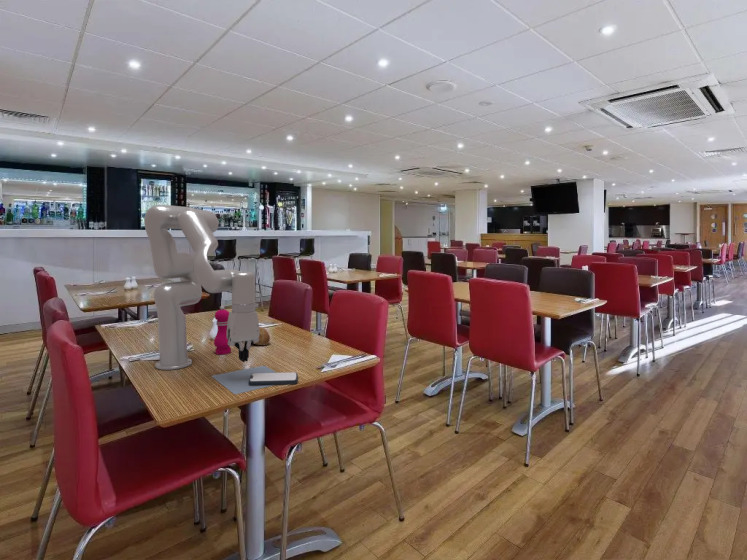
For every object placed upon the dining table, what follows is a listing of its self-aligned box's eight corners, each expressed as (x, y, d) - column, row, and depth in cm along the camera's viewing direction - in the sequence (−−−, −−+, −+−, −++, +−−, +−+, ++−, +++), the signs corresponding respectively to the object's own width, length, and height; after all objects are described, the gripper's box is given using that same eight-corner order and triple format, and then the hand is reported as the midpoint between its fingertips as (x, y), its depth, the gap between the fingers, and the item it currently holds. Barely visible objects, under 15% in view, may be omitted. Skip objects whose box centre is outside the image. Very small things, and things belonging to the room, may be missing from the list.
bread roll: (258, 348, 186) (257, 331, 185) (237, 343, 195) (237, 326, 194) (275, 344, 193) (274, 327, 193) (254, 339, 202) (254, 323, 202)
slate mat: (211, 376, 149) (211, 375, 149) (264, 365, 162) (264, 365, 162) (234, 394, 132) (234, 394, 132) (291, 381, 145) (291, 381, 145)
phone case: (297, 376, 150) (251, 377, 148) (297, 371, 150) (251, 372, 148) (297, 385, 142) (247, 386, 139) (297, 380, 142) (247, 381, 139)
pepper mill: (234, 353, 178) (233, 306, 176) (217, 355, 174) (215, 307, 172) (229, 349, 184) (227, 304, 182) (212, 352, 179) (210, 305, 177)
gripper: (259, 304, 151) (259, 354, 153) (217, 308, 141) (217, 361, 143) (268, 307, 145) (268, 359, 147) (225, 312, 135) (225, 367, 138)
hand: (243, 360), depth 145 cm, fingers closed
